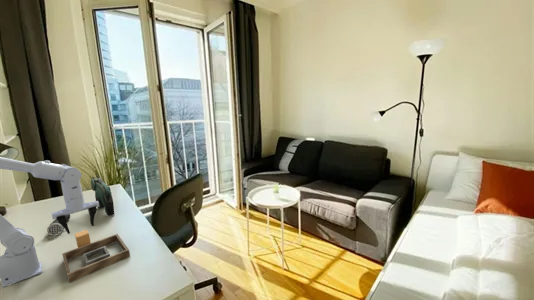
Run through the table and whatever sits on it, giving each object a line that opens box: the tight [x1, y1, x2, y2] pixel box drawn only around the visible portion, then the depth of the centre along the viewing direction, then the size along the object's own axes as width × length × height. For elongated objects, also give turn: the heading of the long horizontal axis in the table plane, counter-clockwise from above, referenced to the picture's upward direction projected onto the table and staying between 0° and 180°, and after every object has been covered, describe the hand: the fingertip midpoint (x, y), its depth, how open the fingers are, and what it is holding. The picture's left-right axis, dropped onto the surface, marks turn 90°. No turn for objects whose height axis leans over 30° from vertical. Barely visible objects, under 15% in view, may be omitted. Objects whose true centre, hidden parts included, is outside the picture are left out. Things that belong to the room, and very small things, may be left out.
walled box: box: [62, 233, 131, 283], centre depth 91 cm, size 18×16×3 cm
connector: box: [74, 229, 92, 248], centre depth 98 cm, size 4×4×6 cm
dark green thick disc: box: [90, 174, 115, 217], centre depth 129 cm, size 20×6×20 cm, turn 48°
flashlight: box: [46, 214, 71, 236], centre depth 115 cm, size 15×5×5 cm, turn 27°
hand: (80, 228), depth 97 cm, fingers open, 7 cm apart
